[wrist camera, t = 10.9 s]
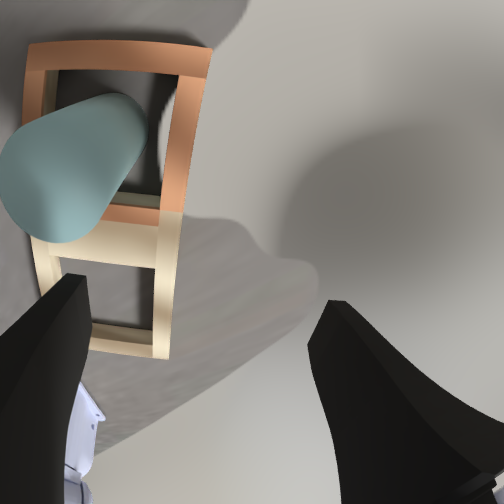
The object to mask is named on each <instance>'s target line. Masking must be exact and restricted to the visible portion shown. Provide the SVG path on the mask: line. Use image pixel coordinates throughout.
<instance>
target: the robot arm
mask: <svg viewBox="0 0 504 504" xmlns="http://www.w3.org/2000/svg"><path fill="white" fill-rule="evenodd" d="M92 328H93V326H92V319H91V312H90V305H89V297H88V289H87V279H86V276H84V275H77V274H70V273H67V274H65V275H64V276H63V277H62V278H61V279H60V280H59V281H58V282H57V283H56V284H54V285H53V286H52V287H51V288H50V289H49V290H48V291H47V292H46V293H45V294H44V295H43V296H42V297H41V298H40V299H39V300H38V301H37V302H36V303H35V304H34V305H33V306H32V307H31V308H30V309H29V310H28V311H27V312H26V313H24V314H23V315H22V316H21V317H20V318H19V319H18V320H17V321H16V322H15V323H14V324H13V325H12V326H11V327H10V328H9V329H7V330H6V331H5V332H4V333H3V334H2V335H1V336H0V504H93V498H92V493H91V491H90V489H89V488H88V486H87V484H86V483H85V482H83V481H81V478H82V477H83V476H84V475H86V474H87V473H88V471H89V470H90V468H91V465H92V462H93V454H94V445H95V437H96V430H97V423H98V421H105V416H104V415H103V413H102V412H101V411H100V409H99V408H98V406H97V405H96V404H95V402H94V401H93V399H92V398H91V396H90V395H89V394H88V392H87V391H86V389H85V388H84V386H83V385H82V383H81V382H80V380H81V376H82V372H83V369H84V366H85V362H86V359H87V354H88V349H89V344H90V338H91V333H92ZM307 345H308V352H309V359H310V364H311V370H312V373H313V377H314V381H315V384H316V387H317V390H318V393H319V397H320V400H321V403H322V406H323V409H324V412H325V415H326V418H327V421H328V425H329V428H330V432H331V435H332V439H333V444H334V449H335V455H336V460H337V466H338V474H339V482H340V492H341V504H504V486H503V487H501V488H500V489H499V490H497V491H495V492H494V493H493V491H492V488H494V487H495V486H496V485H497V484H496V481H495V479H494V478H496V477H497V476H499V475H500V474H502V473H503V472H504V423H502V422H500V421H497V420H495V419H493V418H491V417H489V416H487V415H485V414H483V413H481V412H479V411H477V410H476V409H474V408H472V407H470V406H469V405H467V404H465V403H464V402H462V401H461V400H459V399H458V398H456V397H454V396H453V395H451V394H450V393H449V392H447V391H446V390H444V389H443V388H441V387H440V386H439V385H437V384H436V383H435V382H434V381H432V380H431V379H430V378H428V377H427V376H426V375H425V374H424V373H422V372H421V371H420V370H419V369H418V368H416V367H415V366H414V365H413V364H412V363H411V362H410V361H408V360H407V359H406V358H405V357H404V356H403V355H402V354H401V353H400V352H399V351H398V350H396V349H395V348H394V347H393V346H392V345H391V344H390V343H389V342H388V341H387V340H386V339H385V338H384V337H383V336H382V335H381V334H380V333H379V332H378V331H377V330H376V329H375V328H374V327H373V326H372V325H371V324H370V323H369V322H368V321H367V320H366V319H365V318H364V317H363V316H362V315H360V314H359V313H358V312H357V311H356V310H355V309H354V308H353V307H352V306H351V305H350V304H348V303H347V302H346V301H337V300H328V302H327V304H326V307H325V309H324V311H323V313H322V315H321V318H320V319H319V321H318V324H317V326H316V328H315V330H314V332H313V334H312V336H311V338H310V340H309V342H308V344H307Z"/></svg>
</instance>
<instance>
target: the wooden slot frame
mask: <svg viewBox="0 0 504 504" xmlns="http://www.w3.org/2000/svg"><path fill="white" fill-rule="evenodd" d="M212 51H213V49H210V48H204V47H197V46H189V45H181V44H171V43H160V42H147V41H129V40H73V41H55V42H43V43H33V44H29V48H28V55H27V62H26V70H25V80H24V91H23V105H22V126H23V125H25V124H27V123H29V122H31V121H33V120H36V119H38V118H40V117H43V116H45V115H47V114H50V113H52V112H55V104H56V93H57V83H58V75H59V70H68V69H98V70H125V71H141V72H153V73H164V74H173V75H179V80H178V85H177V91H176V96H175V103H174V108H173V114H172V119H171V126H170V132H169V139H168V145H167V153H166V160H165V167H164V175H163V183H162V192H161V196H154V195H146V194H137V193H128V192H118V191H116V193H115V195H114V196H113V198H112V200H111V201H110V203H109V205H108V206H107V208H106V210H105V211H104V213H103V215H102V217H101V218H100V220H99V222H98V223H97V224H96V226H95V227H94V228H93V229H92V230H91V231H90V232H89V233H87V234H86V235H85V236H83V237H81V238H79V239H77V240H74V241H71V242H67V243H50V242H46V241H42V240H39V239H37V238H35V237H33V236H31V235H30V236H31V243H32V249H33V255H34V261H35V267H36V272H37V277H38V282H39V287H40V291H41V296H43V295H44V294H45V293H46V292H47V291H48V290H49V289H50V288H51V287H52V286H53V285H54V284H56V283H57V282H58V281H59V280H60V279H61V278H62V274H61V267H60V260H59V256H60V257H68V258H75V259H82V260H90V261H98V262H105V263H113V264H121V265H130V266H138V267H146V268H155V284H154V307H153V331H151V330H143V329H134V328H127V327H119V326H112V325H105V324H98V323H92V326H93V328H92V333H91V338H90V344H89V349H91V350H97V351H104V352H110V353H117V354H125V355H132V356H141V357H149V358H158V359H168V360H169V346H170V331H171V318H172V306H173V295H174V285H175V275H176V266H177V256H178V248H179V239H180V231H181V224H182V216H183V209H184V201H185V195H186V187H187V181H188V175H189V169H190V162H191V156H192V150H193V145H194V139H195V133H196V128H197V122H198V117H199V112H200V106H201V102H202V96H203V92H204V86H205V82H206V77H207V73H208V68H209V64H210V59H211V55H212Z"/></svg>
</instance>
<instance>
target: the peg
mask: <svg viewBox="0 0 504 504" xmlns="http://www.w3.org/2000/svg"><path fill="white" fill-rule="evenodd" d="M148 135H149V125H148V120H147V117H146V114H145V112H144V110H143V109H142V107H141V106H140V105H139V104H138V103H137V102H136V101H135V100H134V99H132V98H131V97H129V96H127V95H124V94H120V93H105V94H101V95H98V96H95V97H92V98H89V99H87V100H84V101H81V102H78V103H75V104H73V105H70V106H67V107H65V108H62V109H60V110H57V111H55V112H52V113H50V114H47V115H45V116H43V117H40V118H38V119H36V120H33V121H31V122H29V123H27V124H25V125H23V126H22V127H20V128H19V129H18V130H17V131H15V132H14V133H13V135H12V136H11V137H10V138H9V139H8V141H7V142H6V144H5V146H4V148H3V150H2V152H1V155H0V197H1V199H2V202H3V204H4V207H5V209H6V210H7V212H8V214H9V215H10V217H11V218H12V219H13V221H14V222H15V223H16V224H17V225H18V226H19V227H20V228H21V229H22V230H24V231H25V232H26V233H28V234H29V235H31V236H33V237H35V238H37V239H39V240H42V241H46V242H50V243H67V242H71V241H74V240H77V239H79V238H81V237H83V236H85V235H86V234H87V233H89V232H90V231H91V230H92V229H93V228H94V227H95V226H96V224H97V223H98V222H99V220H100V218H101V217H102V215H103V213H104V211H105V210H106V208H107V206H108V205H109V203H110V201H111V200H112V198H113V196H114V195H115V193H116V191H117V190H118V188H119V187H120V185H121V184H122V182H123V180H124V179H125V177H126V176H127V174H128V173H129V171H130V170H131V168H132V166H133V165H134V163H135V162H136V160H137V159H138V158H139V156H140V155H141V153H142V152H143V150H144V148H145V146H146V143H147V140H148Z"/></svg>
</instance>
